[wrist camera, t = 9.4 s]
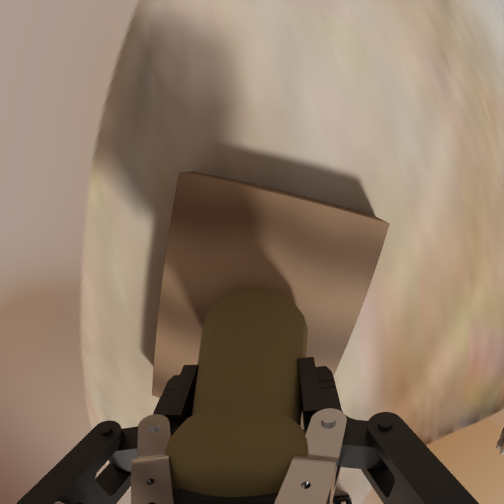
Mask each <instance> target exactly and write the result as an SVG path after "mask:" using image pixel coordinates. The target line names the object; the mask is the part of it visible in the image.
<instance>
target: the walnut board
mask: <svg viewBox="0 0 504 504" xmlns="http://www.w3.org/2000/svg"><path fill="white" fill-rule="evenodd" d="M388 227H389V223H387V222H385V221H383V220H381V219H379V218H378V217H376V216H372V215H369V214H365V213H362V212H358V211H355V210H351V209H348V208H344V207H340V206H337V205H333V204H329V203H326V202H322V201H318V200H314V199H310V198H306V197H302V196H298V195H294V194H290V193H286V192H282V191H278V190H274V189H270V188H265V187H261V186H257V185H252V184H248V183H243V182H239V181H234V180H229V179H225V178H220V177H215V176H210V175H205V174H200V173H195V172H181V173H179V178H178V183H177V189H176V194H175V199H174V205H173V211H172V217H171V223H170V229H169V235H168V242H167V249H166V256H165V263H164V270H163V278H162V286H161V294H160V303H159V312H158V322H157V332H156V343H155V356H154V370H153V386H152V395H153V396H156V397H159V398H160V397H161V396H162V393H163V390H164V388H165V386H166V384H167V381H168V380H170V379H171V378H172V377H173V376H174V375H180V373H181V371H182V368H183V366H184V365H198V358H199V350H200V342H201V335H202V328H203V324H204V321H205V317H206V314H207V313H208V311H209V310H210V309H211V307H212V306H213V305H214V303H215V302H216V301H218V300H219V299H221V298H222V297H224V296H225V295H227V294H228V293H231V292H235V291H238V290H241V289H245V288H263V289H266V290H270V291H273V292H277V293H280V294H281V295H283V296H284V297H286V298H287V299H289V300H290V301H292V302H293V303H295V305H296V306H297V307H298V309H299V310H300V311H301V313H302V314H303V315H304V318H305V321H306V324H307V328H308V340H307V355H306V357H314V361H315V366H316V367H320V366H327V367H328V368H329V369H330V370H331V371H332V373H333V375H334V373H335V371H336V369H337V366H338V364H339V362H340V360H341V357H342V355H343V353H344V350H345V348H346V346H347V343H348V341H349V338H350V336H351V333H352V331H353V328H354V326H355V323H356V321H357V318H358V316H359V313H360V310H361V308H362V305H363V302H364V300H365V297H366V294H367V291H368V289H369V286H370V283H371V280H372V277H373V274H374V271H375V268H376V265H377V262H378V259H379V256H380V253H381V250H382V247H383V243H384V240H385V237H386V233H387V230H388ZM300 427H302V428H303V417H302V416H301V426H300Z"/></svg>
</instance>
